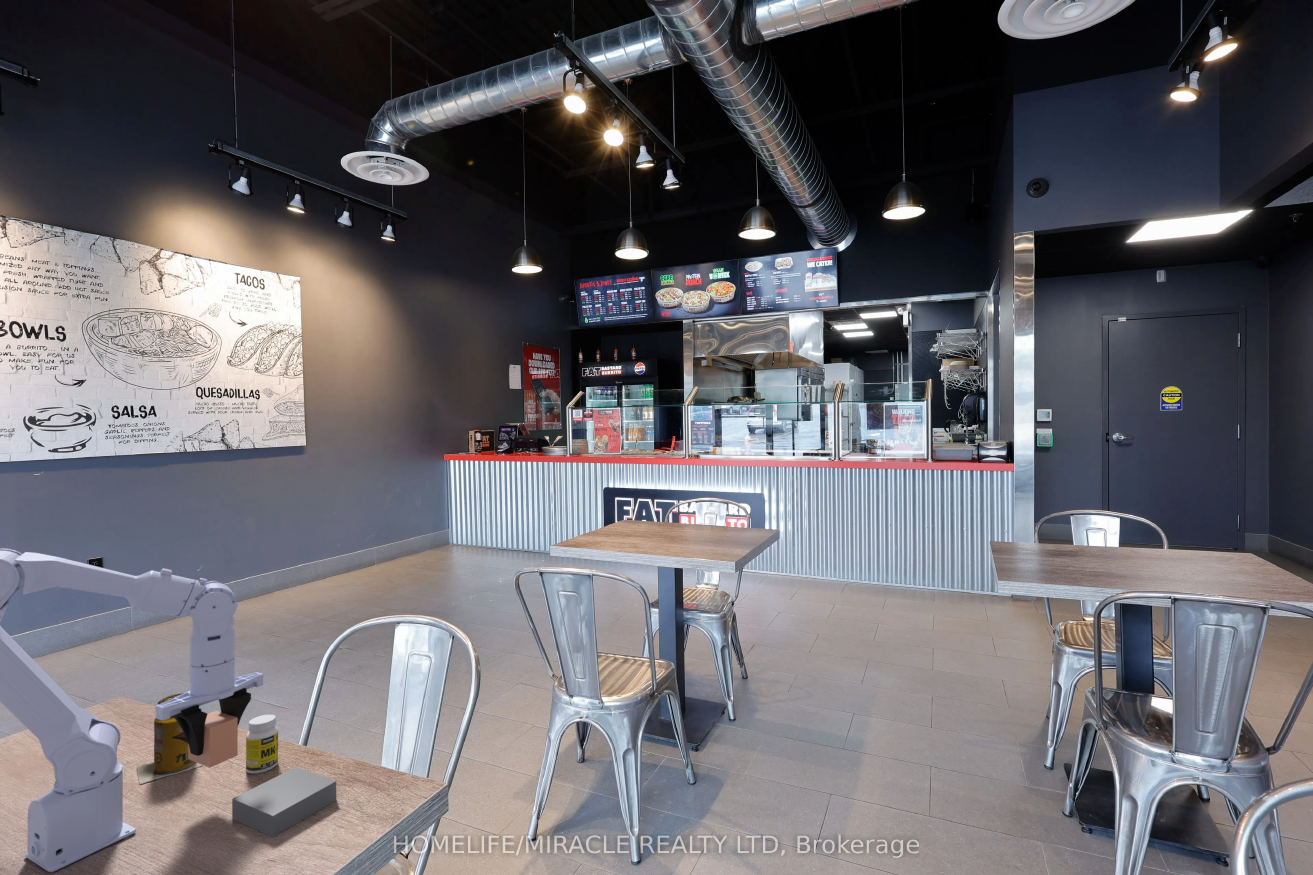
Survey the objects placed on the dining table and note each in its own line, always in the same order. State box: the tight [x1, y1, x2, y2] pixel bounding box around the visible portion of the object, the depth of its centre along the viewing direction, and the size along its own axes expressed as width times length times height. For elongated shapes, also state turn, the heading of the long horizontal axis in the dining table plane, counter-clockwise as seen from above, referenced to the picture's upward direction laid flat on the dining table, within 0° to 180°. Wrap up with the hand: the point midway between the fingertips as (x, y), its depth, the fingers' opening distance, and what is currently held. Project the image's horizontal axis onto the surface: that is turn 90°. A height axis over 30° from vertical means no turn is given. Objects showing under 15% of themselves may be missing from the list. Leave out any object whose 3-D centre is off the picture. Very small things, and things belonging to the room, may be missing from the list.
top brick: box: [188, 710, 239, 768], centre depth 96 cm, size 4×6×6 cm, turn 64°
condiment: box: [136, 692, 203, 785], centre depth 107 cm, size 7×8×12 cm
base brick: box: [231, 766, 337, 837], centre depth 94 cm, size 10×10×3 cm
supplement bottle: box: [245, 714, 279, 775], centre depth 106 cm, size 5×5×8 cm
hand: (212, 746), depth 96 cm, fingers closed on top brick, 4 cm apart
